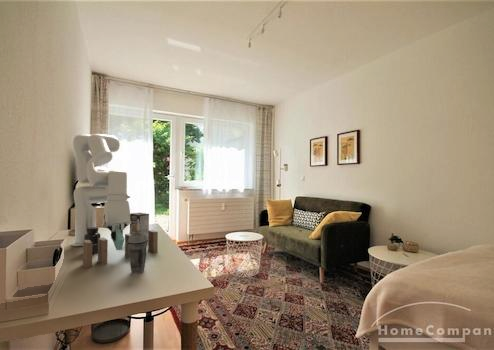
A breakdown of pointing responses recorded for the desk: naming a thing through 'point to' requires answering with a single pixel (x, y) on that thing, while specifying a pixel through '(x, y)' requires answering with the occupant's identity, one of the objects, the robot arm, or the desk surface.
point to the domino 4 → (152, 241)
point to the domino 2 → (102, 250)
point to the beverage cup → (137, 250)
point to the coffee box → (142, 222)
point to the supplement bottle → (93, 238)
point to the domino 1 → (87, 253)
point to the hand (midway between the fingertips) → (116, 239)
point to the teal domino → (118, 238)
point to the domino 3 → (127, 245)
